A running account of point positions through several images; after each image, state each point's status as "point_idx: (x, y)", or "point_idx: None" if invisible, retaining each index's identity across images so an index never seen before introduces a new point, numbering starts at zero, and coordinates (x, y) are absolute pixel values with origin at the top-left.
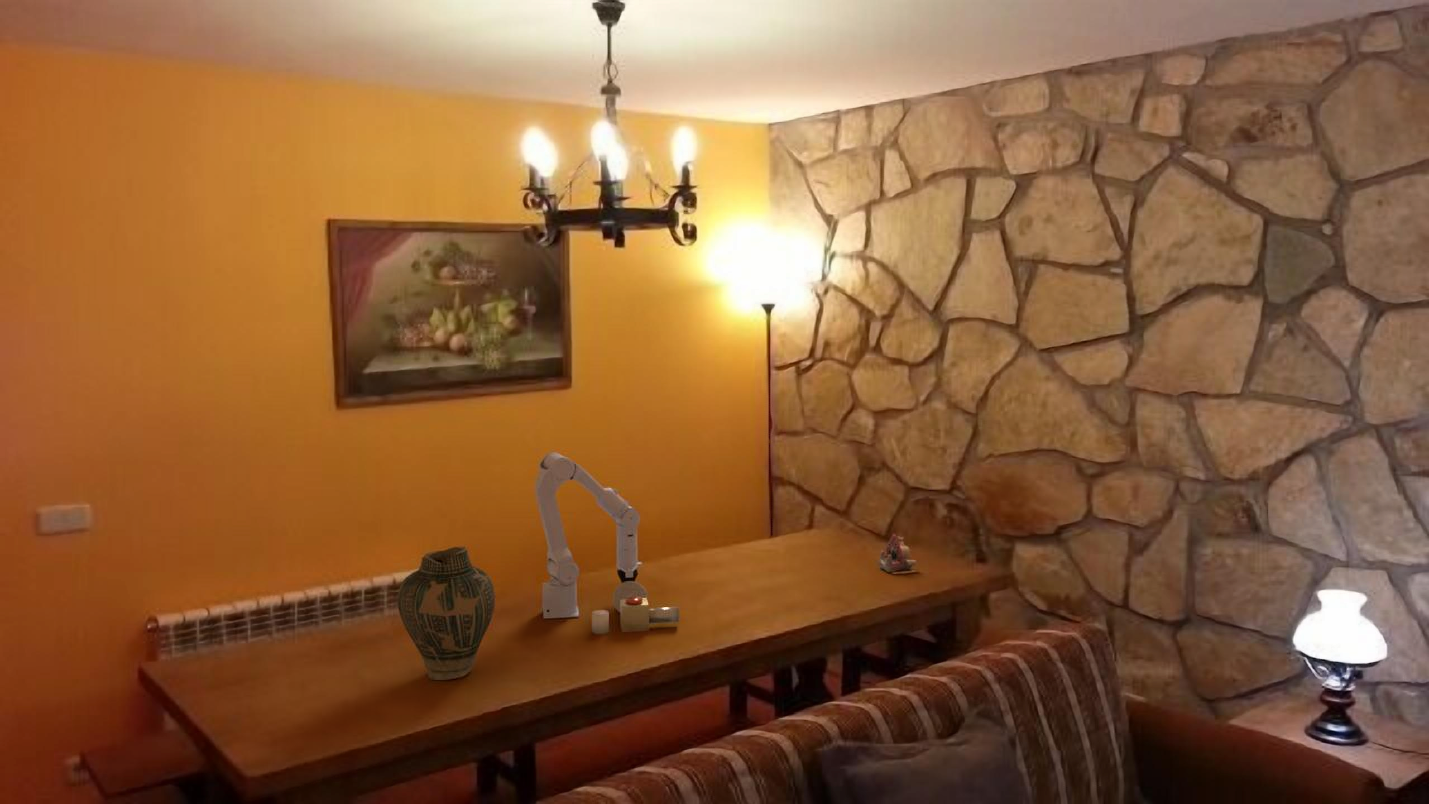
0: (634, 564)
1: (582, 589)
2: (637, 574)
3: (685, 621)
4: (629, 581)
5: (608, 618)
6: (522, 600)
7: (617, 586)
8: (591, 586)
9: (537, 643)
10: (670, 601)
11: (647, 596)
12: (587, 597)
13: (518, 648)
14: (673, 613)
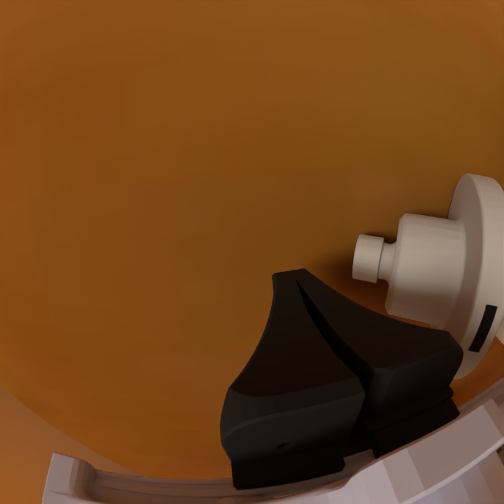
0: (500, 459)
1: (100, 410)
2: (452, 339)
3: (497, 43)
4: (489, 344)
5: None
6: (225, 474)
7: (453, 378)
8: (62, 389)
9: (477, 382)
10: (242, 10)
11: (495, 180)
12: (181, 405)
13: (476, 393)
14: None
